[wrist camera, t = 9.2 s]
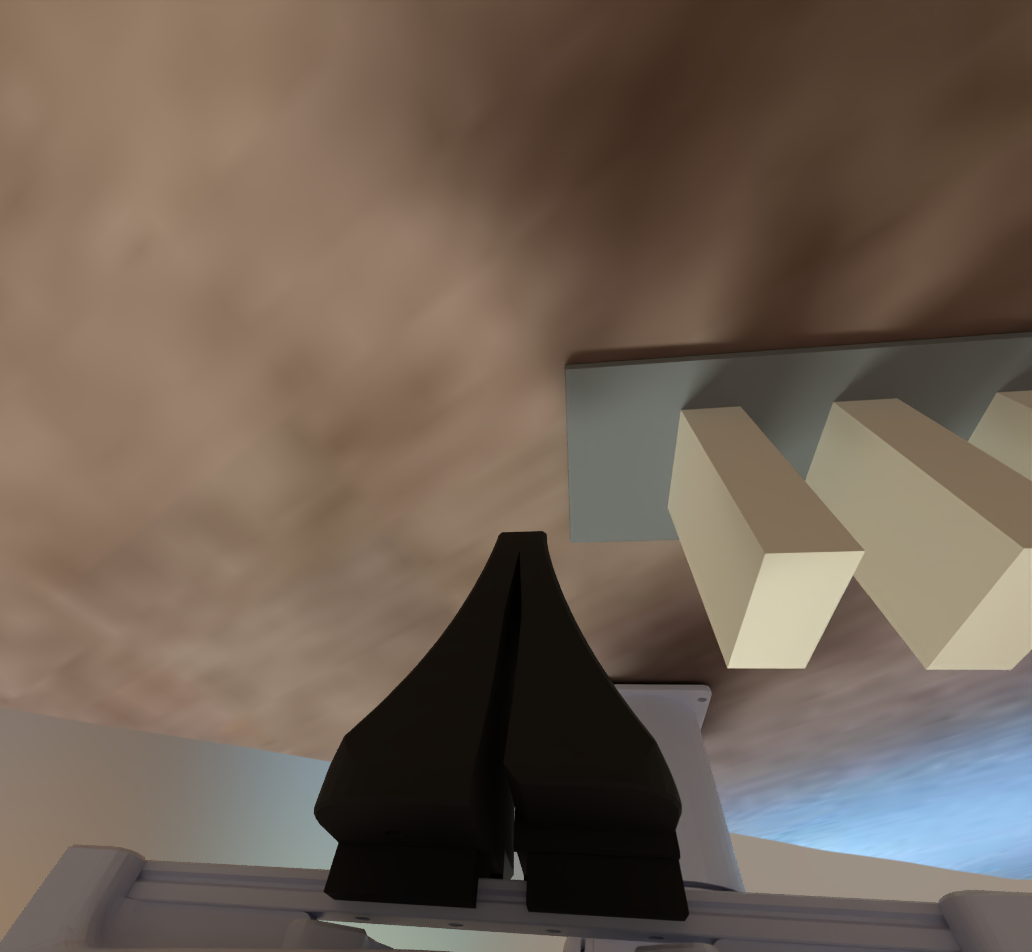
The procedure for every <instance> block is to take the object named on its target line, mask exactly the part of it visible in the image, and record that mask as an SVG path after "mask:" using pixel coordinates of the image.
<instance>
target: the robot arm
mask: <svg viewBox="0 0 1032 952" xmlns="http://www.w3.org/2000/svg"><path fill="white" fill-rule="evenodd" d="M711 696H712V692H711V689H710V687H709V686H706V685H659V684H613V683H612V681H611V680H610V678H609V677H608V675H607V674H606V672H605V670H604V669H603V667H602V666H601V664H600V663H599V661H598V660H597V658H596V657H595V655H594V653H593V652H592V650H591V648H590V646H589V645H588V643H587V641H586V639H585V638H584V636H583V634H582V632H581V630H580V629H579V627H578V625H577V623H576V621H575V619H574V617H573V615H572V613H571V611H570V608H569V606H568V604H567V602H566V600H565V597H564V595H563V593H562V590H561V588H560V585H559V582H558V580H557V577H556V574H555V572H554V569H553V566H552V562H551V559H550V555H549V551H548V545H547V534H546V533H544V532H543V531H532V532H502V533H501V534H500V535H499V536H498V539H497V541H496V544H495V546H494V549H493V551H492V553H491V555H490V557H489V559H488V561H487V563H486V565H485V567H484V569H483V571H482V573H481V575H480V577H479V578H478V580H477V582H476V584H475V586H474V587H473V589H472V591H471V592H470V594H469V596H468V597H467V599H466V600H465V602H464V604H463V605H462V607H461V608H460V610H459V611H458V613H457V614H456V616H455V617H454V619H453V620H452V622H451V623H450V624H449V626H448V627H447V629H446V630H445V631H444V633H443V634H442V635H441V637H440V638H439V639H438V641H437V642H436V643H435V644H434V645H433V647H432V648H431V649H430V650H429V652H428V653H427V654H426V655H425V656H424V658H423V659H422V660H421V661H420V662H419V663H418V665H417V666H416V667H415V668H414V669H413V670H412V671H411V672H410V673H409V675H408V676H407V677H406V678H405V679H404V680H403V681H402V682H401V683H400V684H399V685H398V686H397V687H396V688H395V689H394V690H393V691H392V692H391V693H390V694H389V695H388V696H387V697H386V698H385V699H384V700H383V701H382V702H381V703H380V704H379V705H378V706H377V707H376V708H375V709H374V710H373V711H372V712H370V713H369V714H368V715H367V716H366V717H365V718H364V719H363V720H362V721H361V722H359V723H358V724H357V725H356V726H355V727H354V728H353V729H352V730H351V731H350V732H348V733H347V734H346V735H345V736H344V738H343V740H342V742H341V744H340V746H339V748H338V750H337V752H336V754H335V756H334V758H333V760H332V762H331V764H330V767H329V769H328V772H327V775H326V777H325V780H324V783H323V785H322V788H321V791H320V793H319V796H318V799H317V801H316V804H315V807H314V815H315V817H316V819H317V820H318V822H319V824H320V825H321V826H322V827H323V828H324V829H326V831H327V832H328V833H330V834H331V835H332V836H333V837H334V838H335V839H336V840H337V841H338V842H339V843H338V847H337V850H336V853H335V856H334V859H333V862H332V866H331V869H330V870H321V869H320V870H319V869H302V868H283V867H282V868H281V867H263V866H247V865H228V864H227V865H226V864H209V863H191V862H172V861H153V860H145V857H143V856H142V855H140V854H139V853H137V852H135V851H132V850H129V849H125V848H121V847H113V846H94V845H73V846H70V847H68V848H67V850H66V851H65V853H64V854H63V855H62V857H61V858H60V860H59V861H58V862H57V864H56V865H55V867H54V868H53V869H52V871H51V872H50V874H49V875H48V876H47V878H46V879H45V881H44V882H43V883H42V885H41V886H40V887H39V889H38V890H37V892H36V893H35V894H34V896H33V897H32V899H31V900H30V902H29V903H28V904H27V906H26V907H25V908H24V910H23V911H22V913H21V914H20V915H19V917H18V918H17V920H16V921H15V923H14V924H13V925H12V926H11V928H10V929H9V931H8V932H7V933H6V935H5V936H4V938H3V939H2V940H1V942H0V952H447V951H428V950H400V949H399V950H397V949H393V948H391V947H388V946H386V945H383V944H381V943H378V942H376V941H375V940H373V939H372V938H370V937H368V936H367V934H366V932H365V930H364V929H361V928H355V927H349V926H344V925H338V924H334V923H328V922H322V921H319V920H326V921H342V922H356V923H371V924H386V925H401V926H417V927H431V928H446V929H461V930H476V931H491V932H507V933H521V934H537V935H551V936H566V937H567V939H566V941H565V945H564V949H563V952H1032V893H1023V892H1004V891H984V890H965V891H957V892H952V893H949V894H947V895H945V896H943V897H942V898H941V899H940V900H939V902H938V903H934V902H915V901H896V900H878V899H859V898H841V897H822V896H803V895H784V894H765V893H747V892H745V889H744V885H743V882H742V878H741V874H740V871H739V867H738V864H737V860H736V856H735V853H734V850H733V846H732V842H731V839H730V835H729V831H728V828H727V824H726V821H725V817H724V814H723V810H722V806H721V803H720V799H719V796H718V792H717V789H716V785H715V781H714V778H713V774H712V771H711V767H710V764H709V760H708V757H707V753H706V749H705V746H704V742H703V739H702V735H701V732H700V731H701V727H702V724H703V721H704V718H705V715H706V712H707V708H708V705H709V702H710V699H711ZM514 806H515V818H514ZM514 852H517V854H518V857H519V860H520V864H521V867H522V871H523V874H524V880H510V879H511V878H512V876H513V874H514ZM448 952H449V951H448Z"/></svg>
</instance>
